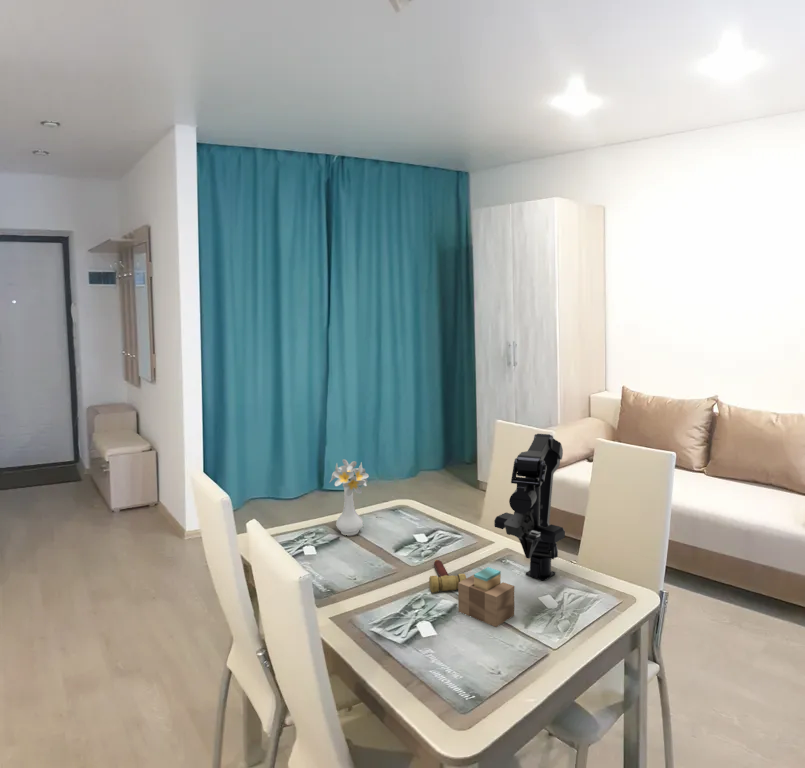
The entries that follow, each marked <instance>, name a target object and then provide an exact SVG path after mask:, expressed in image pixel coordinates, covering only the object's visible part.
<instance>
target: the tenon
mask: <svg viewBox="0 0 805 768" xmlns="http://www.w3.org/2000/svg"><path fill="white" fill-rule="evenodd" d="M501 573H502V572H501V570H498V569H495V568H492V567H489V566H487V567H486V568H484V569H481V570H480V571H477V572H476V573H474V574H473V575H474V587H477V588H480V589H482V590H485V591H489V590H490V589H492V588H494V587H496V586H497V585H499V584H501V583H502V582H501V578H502V577H501V575H502V574H501Z"/></svg>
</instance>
